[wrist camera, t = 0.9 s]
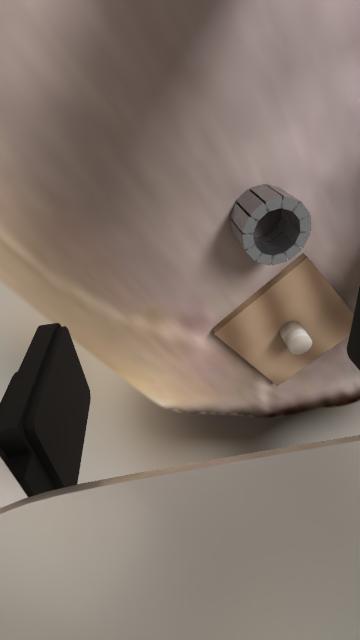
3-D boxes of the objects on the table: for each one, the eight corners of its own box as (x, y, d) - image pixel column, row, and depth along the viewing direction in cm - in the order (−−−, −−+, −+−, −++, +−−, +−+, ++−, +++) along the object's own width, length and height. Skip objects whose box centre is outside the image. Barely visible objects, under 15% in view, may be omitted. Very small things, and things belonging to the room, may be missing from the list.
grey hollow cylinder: (267, 170, 33) (285, 181, 29) (301, 216, 36) (323, 231, 31) (218, 217, 35) (229, 234, 31) (254, 257, 38) (269, 276, 34)
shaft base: (303, 253, 38) (320, 269, 34) (358, 320, 44) (378, 340, 41) (212, 328, 43) (219, 350, 39) (274, 380, 49) (285, 402, 45)
